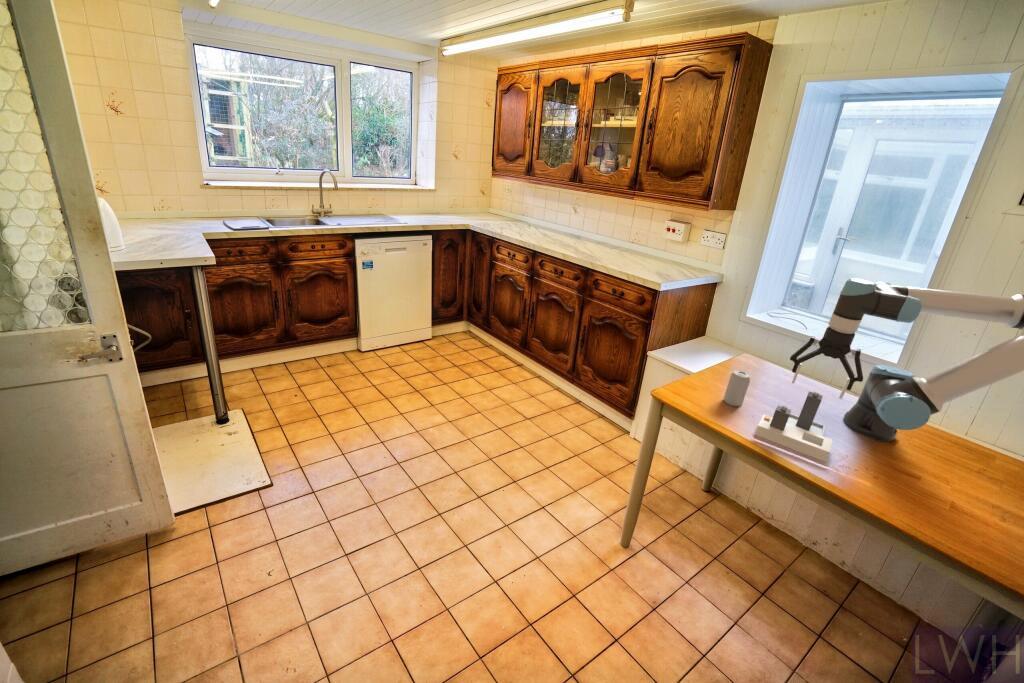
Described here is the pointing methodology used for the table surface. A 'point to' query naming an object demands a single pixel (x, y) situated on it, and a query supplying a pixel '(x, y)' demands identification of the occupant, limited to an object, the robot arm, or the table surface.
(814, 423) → the tray
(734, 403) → the beverage can
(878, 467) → the table surface
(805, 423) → the plug
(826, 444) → the strip
